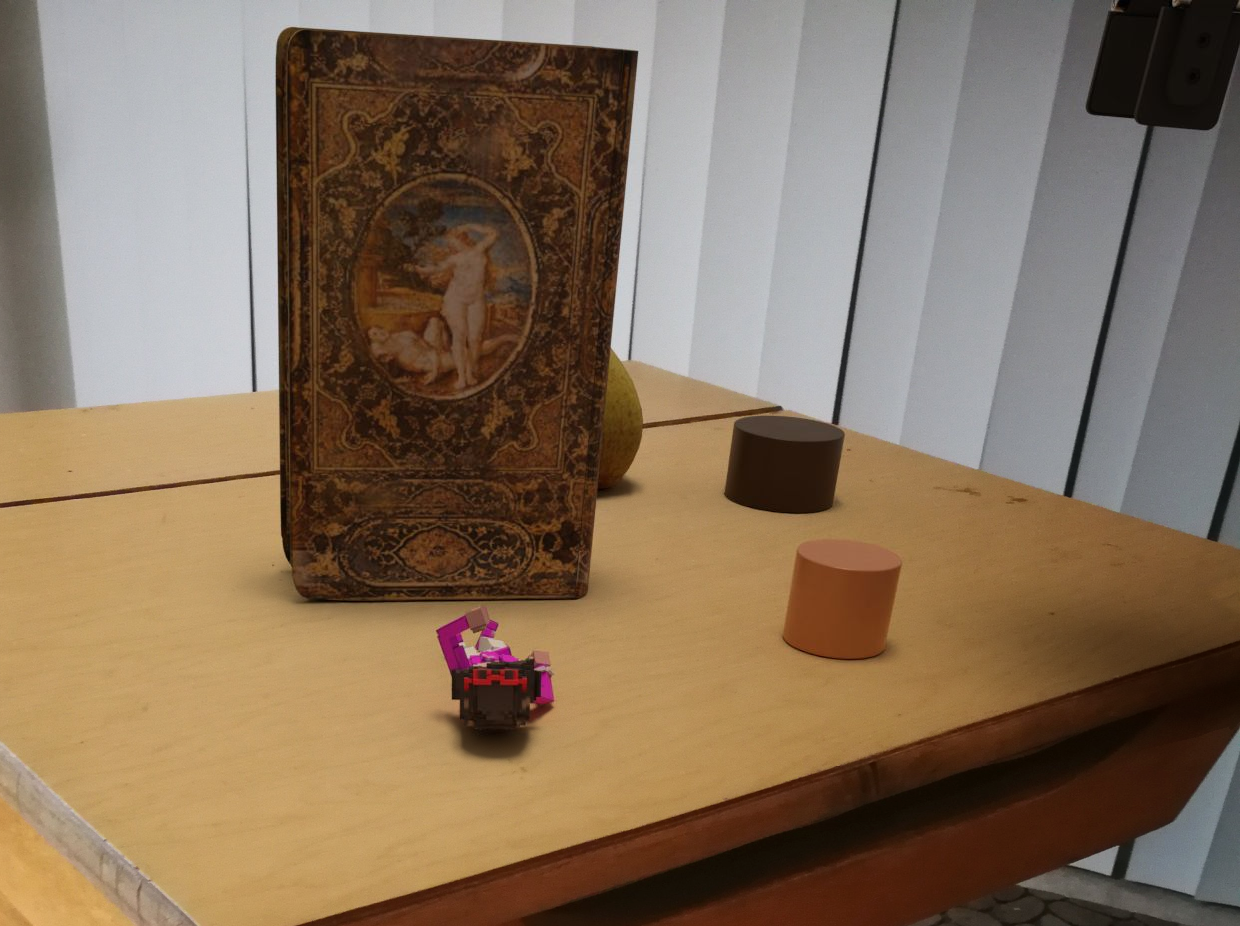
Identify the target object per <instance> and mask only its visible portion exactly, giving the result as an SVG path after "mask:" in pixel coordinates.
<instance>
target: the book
mask: <svg viewBox="0 0 1240 926" xmlns="http://www.w3.org/2000/svg"><path fill="white" fill-rule="evenodd" d="M638 60H639V50H635V49H626V48H625V49H623V48H616V47H615V48H614V47H602V46H593V45H580V44H579V45H577V44H564V43H563V44H562V43H544V42H530V41H514V40H500V39H483V38H469V37H452V36H435V35H424V34H423V35H422V34H421V35H420V34H405V33H393V32H392V33H391V32H389V33H388V32H375V31H374V32H373V31H358V30H344V29H343V30H342V29H328V28H314V27H313V28H312V27H299V26H298V27H297V26H288V27H285V28H284V29H283V30H282V31H281V32H280V33H279V35H278V37H277V40H276V45H275V150H276V151H275V152H276V153H275V160H276V161H275V162H276V163H275V165H276V167H275V168H276V171H275V172H276V232H277V233H276V239H277V240H276V244H277V245H276V246H277V247H276V248H277V249H276V250H277V252H276V253H277V255H276V256H277V257H276V258H277V331H278V332H277V337H278V339H277V341H278V416H279V418H278V424H279V425H278V427H279V430H278V431H279V434H278V435H279V501H280V502H279V506H280V507H279V508H280V509H279V511H280V513H279V514H280V536H281V543H282V549H283V554H284V557H285V558H286V561H287V562H288V563H289V565H290V567H291V576H292V580H293V584H294V587H295V590H296V591H297V593H298V594H299V595H300V597H303V598H304V599H307V600H322V601H323V600H324V601H325V600H326V601H327V600H328V601H351V602H353V601H355V602H394V601H395V602H396V601H399V602H400V601H401V602H402V601H465V600H466V601H469V600H470V601H471V600H472V601H473V600H479V601H480V600H547V599H549V600H550V599H553V600H554V599H555V600H557V599H574V600H577V599H580V598H583V597H584V596H586V595H587V593H588V591H589V583H590V574H591V573H590V572H591V563H592V562H591V561H592V550H593V540H594V532H595V531H594V529H595V521H596V520H595V519H596V508H597V498H598V489H597V488H598V477H599V467H600V456H601V445H602V435H603V424H604V413H605V403H606V392H607V381H608V371H609V360H610V349H611V348H612V337H613V328H614V316H615V307H616V305H615V304H616V295H617V286H618V285H617V284H618V283H617V282H618V273H619V264H620V263H619V262H620V252H621V241H622V231H623V220H624V210H625V199H626V186H627V178H628V167H629V157H630V146H631V136H632V135H631V134H632V124H633V114H634V105H635V91H636V81H637V70H638V62H639V61H638Z"/></svg>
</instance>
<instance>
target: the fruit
mask: <svg viewBox="0 0 1240 926" xmlns="http://www.w3.org/2000/svg"><path fill="white" fill-rule="evenodd" d="M643 427H644V418H643V408H642V404H641V402H640V399H639V396H638V391H637V388H636V387H635V383H634V381H633V379H632V377H631V375H630V374H629V372H628V370H627V369H626V367H625V365H624V363H623V362H622V361H621V359H620V357H618V354H617V353H616V352H615V351H614V350H613V349H612V347H611V349H610V360H609V371H608V381H607V392H606V403H605V413H604V424H603V435H602V445H601V456H600V467H599V477H598V488H597V490H598V489H608V488H611V487H613V486H614V485H616V484H617V483H618V482H619V481H620V480H621V479H622V478H623V477H624V476H625V475H626V473H627V472H628V471H629V469H630V467H631V466H632V464H633V463H634V461H635V458H636V455H637V454H638V451H639V449H640V446H641V443H642V439H643V429H644V428H643Z"/></svg>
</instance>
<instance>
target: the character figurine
mask: <svg viewBox="0 0 1240 926" xmlns="http://www.w3.org/2000/svg"><path fill="white" fill-rule="evenodd" d="M498 628H499V622H496V621H495V620H492V619H491V618H490V616H489V613H488V610H487V607H486V605H485V604H483V605H480V606H477V607H474V608H472V609H470V610H467V611H466V612H465V613H464V615H462V616H460V617H457V618H456V619H453V620H452V621H450V622H447V623H446V624H444V625H441V626H440V627H439V628H437V629H436V630H435V632H436V634H437V636H436V638H437V641H438V643H439V646H440V648H441V651H442V654H443V657H444V659H445V663H446V665H447V667H448V671H449V674H450V676H451V701H459V721H463V725H464V726H468V728H472V729H476V730H477V731H478V730H481V731H485V732H504V731H505V732H506V731H512V730H517V729H518V728H520V727H521V726H526V721H530V718H531V717H530V715H531V704H536V705H540V706H544V705H548V704H551V703H554V702H555V697H554V691H553V684H552V683H553V682H552V678H553V676H554V675H555V671H554V669H553V668H551V665H552V663H551V658H550V653H549V651H541V650H534V649H533V650H532V652H531V654H530V655H528V656H527V657H526V658H525V659H520V658H518V657H515V656H514V655H512V650H511V648H510V646H509V645H508V644H505V642H504V640H502V639H497V638H495V636H496V634H497V630H498ZM467 630H470V631H471V632H472V634H477V633H479V632H480V635H479V637H478V639H477V641H476V644H475V646H474V645H470V646H467V644H466V642H465V641H464V639H463V635H462V633H463V632H465V631H467Z"/></svg>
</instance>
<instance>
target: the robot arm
mask: <svg viewBox="0 0 1240 926" xmlns="http://www.w3.org/2000/svg"><path fill="white" fill-rule="evenodd" d="M1239 49H1240V0H1111V7H1110V10H1108V11H1107V15H1106V19H1105V23H1104V28H1103V31H1102V36H1101V40H1100V44H1099V48H1098V51H1097V57H1096V61H1095V64H1094V69H1093V73H1092V77H1091V81H1090V85H1089V90H1088V94H1087V98H1086V101H1085V111H1086V113H1087V114H1088V115H1092V116H1096V117H1111V118H1121V119H1132V120H1133V119H1134V121H1135V123H1137V124H1138V125H1141V126H1148V127H1159V128H1169V129H1170V128H1171V129H1182V130H1183V129H1184V130H1193V131H1203V132H1205V131H1210V130H1212V129H1214V128H1215V127H1216V125H1217V124H1218V122H1219V119H1220V117H1221V112H1222V109H1223V105H1224V101H1225V98H1226V95H1227V91H1228V88H1229V85H1230V81H1231V77H1232V74H1233V71H1234V67H1235V63H1236V59H1237V56H1238V52H1239Z"/></svg>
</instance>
